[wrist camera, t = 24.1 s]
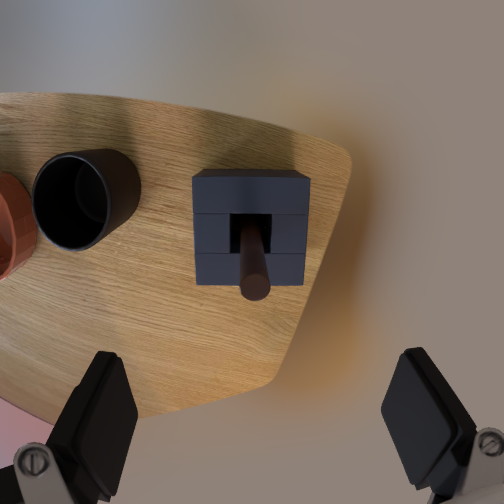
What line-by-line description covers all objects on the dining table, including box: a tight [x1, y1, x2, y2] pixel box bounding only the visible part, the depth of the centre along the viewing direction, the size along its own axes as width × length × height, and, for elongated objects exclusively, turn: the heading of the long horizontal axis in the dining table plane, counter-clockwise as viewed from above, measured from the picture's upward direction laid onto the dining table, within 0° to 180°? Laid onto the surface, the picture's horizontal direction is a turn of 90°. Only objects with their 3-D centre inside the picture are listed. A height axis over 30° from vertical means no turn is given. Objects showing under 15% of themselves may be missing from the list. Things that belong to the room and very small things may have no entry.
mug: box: [31, 148, 141, 251], centre depth 29 cm, size 9×12×9 cm
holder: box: [192, 169, 310, 286], centre depth 31 cm, size 10×10×8 cm
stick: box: [239, 213, 270, 301], centre depth 27 cm, size 2×2×18 cm
